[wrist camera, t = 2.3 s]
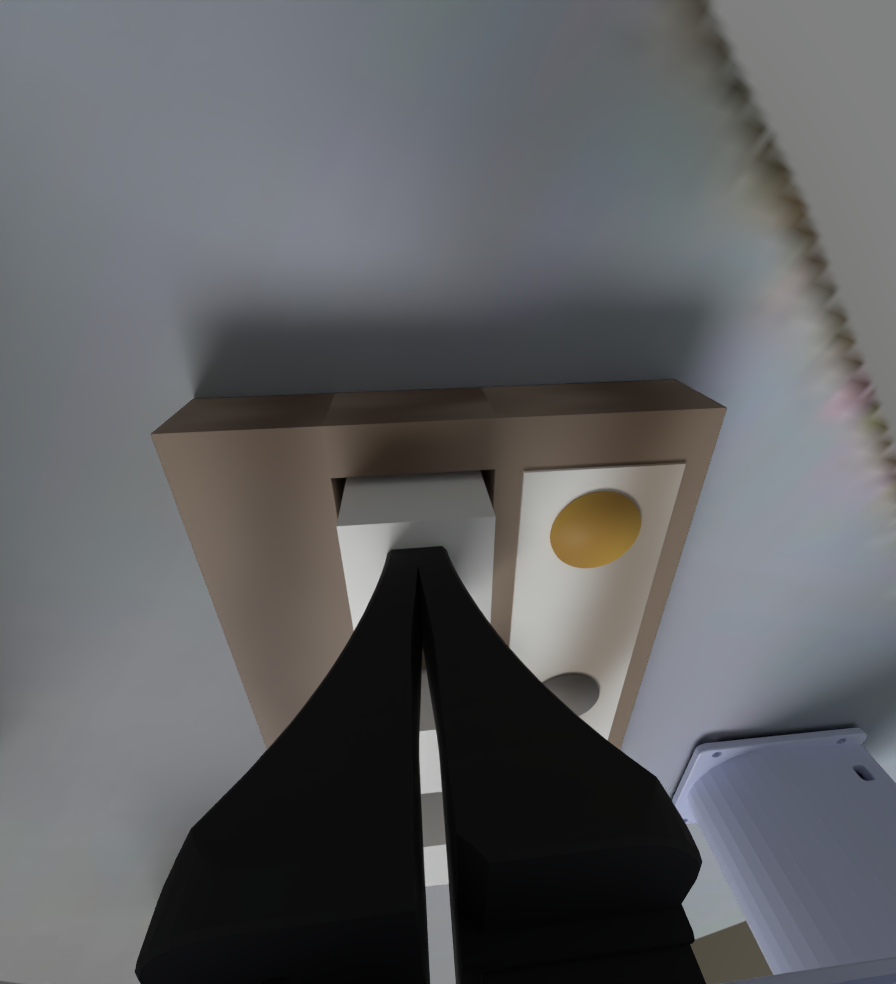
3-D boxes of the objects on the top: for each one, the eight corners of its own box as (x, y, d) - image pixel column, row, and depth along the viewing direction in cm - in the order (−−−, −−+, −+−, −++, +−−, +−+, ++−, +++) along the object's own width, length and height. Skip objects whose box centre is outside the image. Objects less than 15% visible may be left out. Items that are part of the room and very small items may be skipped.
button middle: (473, 647, 17) (486, 724, 14) (471, 708, 18) (483, 787, 16) (373, 655, 16) (369, 736, 14) (382, 716, 18) (379, 798, 15)
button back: (470, 762, 20) (480, 840, 18) (469, 803, 22) (478, 879, 20) (389, 770, 20) (388, 851, 17) (395, 812, 22) (395, 890, 19)
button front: (476, 458, 13) (495, 516, 10) (474, 558, 15) (489, 627, 12) (348, 465, 13) (336, 526, 10) (362, 566, 15) (354, 639, 12)
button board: (675, 379, 14) (731, 410, 11) (577, 777, 25) (596, 834, 22) (193, 398, 13) (146, 437, 10) (317, 805, 24) (308, 868, 21)
